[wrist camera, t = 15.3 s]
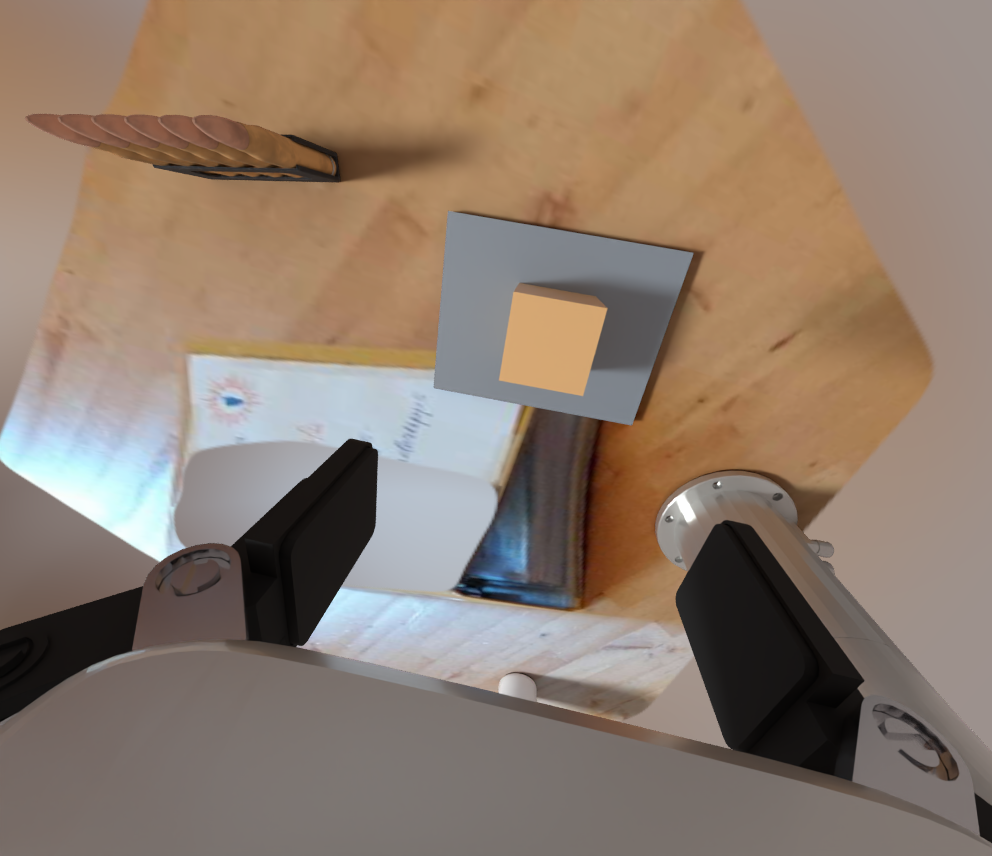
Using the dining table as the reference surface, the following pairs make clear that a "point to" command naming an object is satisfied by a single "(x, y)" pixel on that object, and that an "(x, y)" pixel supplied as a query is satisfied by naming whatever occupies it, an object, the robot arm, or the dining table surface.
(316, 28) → the dining table surface
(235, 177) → the ammunition clip
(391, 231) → the dining table surface
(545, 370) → the beige wooden cube
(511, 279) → the gray rectangular slab
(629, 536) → the dining table surface
